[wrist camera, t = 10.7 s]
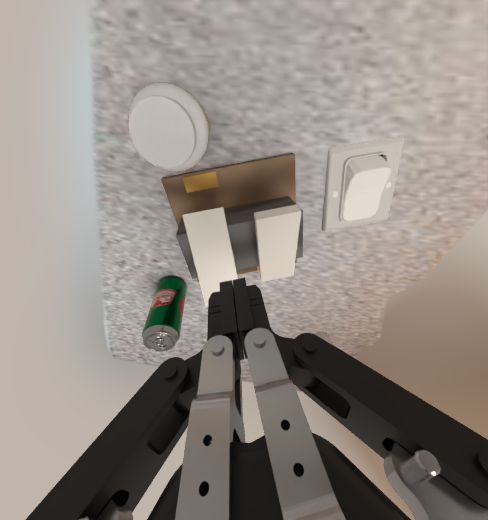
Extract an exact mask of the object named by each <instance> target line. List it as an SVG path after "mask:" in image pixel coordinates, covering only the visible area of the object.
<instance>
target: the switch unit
mask: <svg viewBox="0 0 488 520" xmlns="http://www.w3.org/2000/svg"><path fill="white" fill-rule="evenodd" d="M161 180H162V183H163V186H164V188H165V191H166V194H167V197H168V199H169V202H170V205H171V208H172V211H173V213H174V216H175V219H176V222H177V224H178V227H179V228H178V231H177V235H176V236H177V239H178V242H179V244H180V247H181V249H182V252H183V255H184V257H185V260H186V263H187V265H188V268H189V271H190V273H191V276H192V279H193V278H197V280H198V282H199V278H198V274H197V270H196V267H195V266H194V261H193V255H192V251H191V247H190V243H189V239H188V236H187V232H186V228H185V224H184V220H183V216H182V215H184V214H189V213H194V212H200V211H205V210H210V209H215V208H220V207H223V208H224V213H225V218H226V222H227V227H228V232H229V237H230V242H231V247H232V250H233V253H234V258H235V260H234V261H235V266H236V271H237V274H242V273H247V272H252V271H257V270H259V261H258V255H257V240H256V229H255V219H254V213H255V212H260V211H265V210H270V209H276V208H281V207H286V206H291V205H296V201H295V154H293V153H290V154H285V155H280V156H274V157H269V158H264V159H259V160H253V161H248V162H243V163H238V164H232V165H227V166H222V167H217V168H211V169H206V170H201V171H196V172H190V173H185V174H180V175H175V176H169V177H164V178H162V179H161ZM297 247H298V249H297V251H296V258H300V257H303V211H302V210H301V219H300V227H299V235H298V243H297ZM295 263H296V259H295Z"/></svg>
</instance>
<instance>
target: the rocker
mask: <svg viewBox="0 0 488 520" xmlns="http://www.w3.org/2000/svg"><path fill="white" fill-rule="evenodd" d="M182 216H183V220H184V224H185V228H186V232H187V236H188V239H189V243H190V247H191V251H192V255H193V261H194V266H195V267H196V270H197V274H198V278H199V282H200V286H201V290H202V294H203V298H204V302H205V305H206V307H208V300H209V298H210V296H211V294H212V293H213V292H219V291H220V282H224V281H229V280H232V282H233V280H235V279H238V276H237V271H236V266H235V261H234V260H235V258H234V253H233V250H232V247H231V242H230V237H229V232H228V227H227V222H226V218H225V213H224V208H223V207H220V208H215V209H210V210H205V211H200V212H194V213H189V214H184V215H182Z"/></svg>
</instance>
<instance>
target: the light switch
mask: <svg viewBox="0 0 488 520" xmlns="http://www.w3.org/2000/svg"><path fill="white" fill-rule="evenodd" d="M404 142H405V140H404V136H398V137H392V138H386V139H380V140H374V141H368V142H362V143H356V144H350V145H344V146H338V147H332V148H330V149H329V151H328V162H327V174H326V186H325V198H324V210H323V226H322V230H323V231H331V230H337V229H342V228H348V227H354V226H359V225H365V224H371V223H376V222H382V221H385V220H386V219H387V218H388V215H389V211H390V206H391V202H392V197H393V193H394V188H395V183H396V179H397V174H398V170H399V165H400V160H401V156H402V151H403V147H404ZM380 154H382V155H383V157H384V158H383V157H382V156H379V155H380ZM374 155H375V156H374ZM357 158H358V159H357Z"/></svg>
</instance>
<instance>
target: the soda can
mask: <svg viewBox="0 0 488 520" xmlns="http://www.w3.org/2000/svg"><path fill="white" fill-rule="evenodd" d="M185 296H186V285H185V283H184V282H183V281H182V280H180V279H179V278H176V277H167V278H164V279H162V280H161V281H160V282H159V283H158V286H157V289H156V292H155V295H154V298H153V301H152V304H151V308H150V311H149V314H148V317H147V320H146V323H145V326H144V329H143V333H142V337H143V344H144V345H145V347H147V348H148V349H150V350H153V351H159V352H161V351H167V350H170V349H172V348H173V347H174V346H175V344H176V342H177V341H178V339H179V336H180V330H181V323H182V316H183V309H184V303H185Z"/></svg>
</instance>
